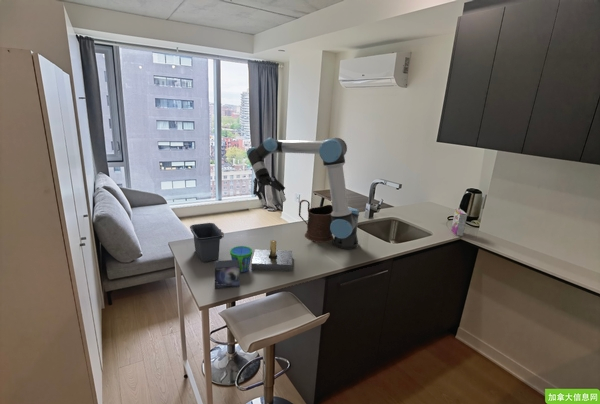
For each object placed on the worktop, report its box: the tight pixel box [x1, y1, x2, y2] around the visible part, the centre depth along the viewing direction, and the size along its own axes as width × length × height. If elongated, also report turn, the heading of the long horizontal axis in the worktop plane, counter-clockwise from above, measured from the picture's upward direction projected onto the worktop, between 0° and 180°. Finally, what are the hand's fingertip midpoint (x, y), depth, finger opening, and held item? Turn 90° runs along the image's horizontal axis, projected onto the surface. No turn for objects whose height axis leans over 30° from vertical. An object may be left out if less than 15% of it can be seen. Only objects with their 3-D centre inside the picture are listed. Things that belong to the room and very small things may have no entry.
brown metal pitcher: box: [298, 199, 334, 243], centre depth 192 cm, size 18×24×25 cm
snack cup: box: [229, 245, 253, 274], centre depth 148 cm, size 16×10×10 cm
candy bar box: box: [451, 208, 468, 237], centre depth 215 cm, size 11×5×16 cm, turn 171°
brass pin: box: [269, 239, 277, 259], centre depth 156 cm, size 3×3×12 cm
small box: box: [214, 259, 240, 290], centre depth 134 cm, size 11×6×10 cm, turn 105°
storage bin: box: [189, 222, 225, 263], centre depth 160 cm, size 21×16×14 cm
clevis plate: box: [250, 248, 293, 272], centre depth 157 cm, size 20×16×4 cm
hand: (274, 202), depth 169 cm, fingers open, 13 cm apart
